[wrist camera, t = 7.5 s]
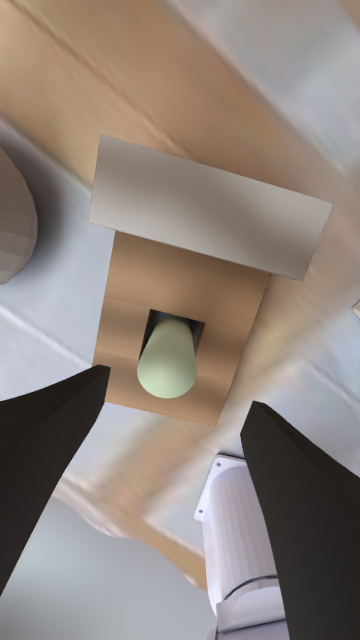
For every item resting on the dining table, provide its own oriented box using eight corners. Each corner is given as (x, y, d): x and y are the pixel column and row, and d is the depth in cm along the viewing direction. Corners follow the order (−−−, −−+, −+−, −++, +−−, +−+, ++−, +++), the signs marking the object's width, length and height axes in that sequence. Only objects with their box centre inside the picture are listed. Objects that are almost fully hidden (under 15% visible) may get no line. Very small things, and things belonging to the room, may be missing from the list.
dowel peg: (185, 352, 20) (187, 404, 12) (151, 343, 20) (131, 390, 12) (195, 318, 19) (204, 352, 12) (159, 309, 19) (144, 337, 11)
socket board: (211, 409, 22) (225, 474, 15) (97, 382, 21) (57, 437, 14) (274, 228, 17) (333, 203, 11) (133, 188, 17) (100, 133, 10)
